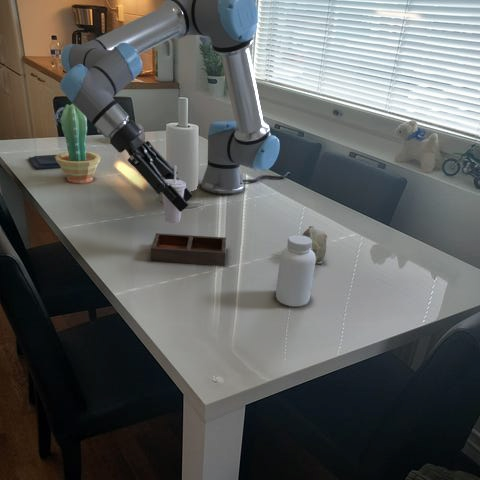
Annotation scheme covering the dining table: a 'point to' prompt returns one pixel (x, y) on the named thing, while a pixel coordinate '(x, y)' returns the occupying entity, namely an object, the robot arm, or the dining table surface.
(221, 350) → the dining table surface
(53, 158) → the wallet
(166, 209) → the smoothie
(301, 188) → the dining table surface
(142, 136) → the food item
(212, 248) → the tray
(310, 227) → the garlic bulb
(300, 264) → the pill bottle
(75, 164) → the potted cactus
